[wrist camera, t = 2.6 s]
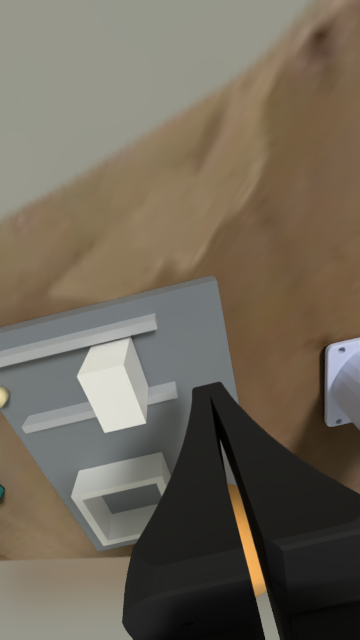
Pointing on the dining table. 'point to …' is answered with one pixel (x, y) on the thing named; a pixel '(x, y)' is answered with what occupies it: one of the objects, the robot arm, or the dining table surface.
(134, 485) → the panel
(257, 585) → the cap
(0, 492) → the digital multimeter
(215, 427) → the robot arm
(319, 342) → the dining table surface
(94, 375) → the block
